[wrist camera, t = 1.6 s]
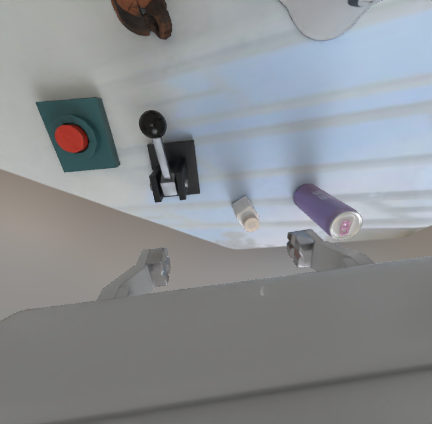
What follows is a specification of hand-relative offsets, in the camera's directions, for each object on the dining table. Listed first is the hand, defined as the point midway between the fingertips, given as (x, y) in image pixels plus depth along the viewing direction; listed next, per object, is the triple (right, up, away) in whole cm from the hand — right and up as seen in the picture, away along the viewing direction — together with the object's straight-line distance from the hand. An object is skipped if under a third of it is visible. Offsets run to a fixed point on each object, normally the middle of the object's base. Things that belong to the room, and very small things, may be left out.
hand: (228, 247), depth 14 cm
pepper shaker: (+5, +4, +34) cm, 35 cm away
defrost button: (-26, +15, +22) cm, 37 cm away
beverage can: (+20, +7, +35) cm, 41 cm away
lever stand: (-9, +11, +29) cm, 33 cm away
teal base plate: (-26, +17, +25) cm, 40 cm away
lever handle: (-9, +12, +17) cm, 23 cm away
